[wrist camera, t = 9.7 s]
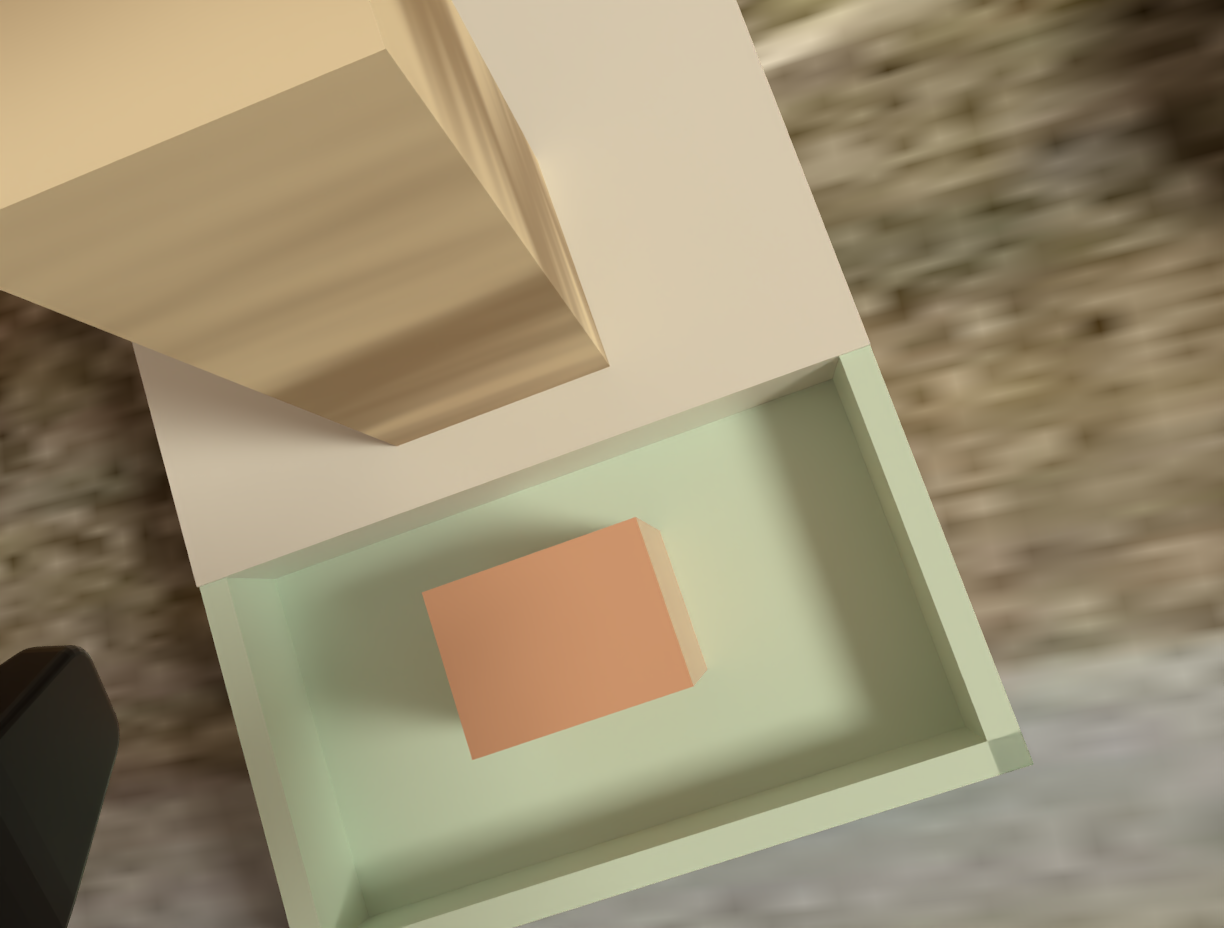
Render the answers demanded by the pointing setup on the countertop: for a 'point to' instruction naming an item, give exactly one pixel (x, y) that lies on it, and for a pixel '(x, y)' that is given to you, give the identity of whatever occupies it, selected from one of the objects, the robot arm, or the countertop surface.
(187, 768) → the countertop surface
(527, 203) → the block
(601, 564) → the peach rectangular box
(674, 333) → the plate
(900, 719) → the tray
